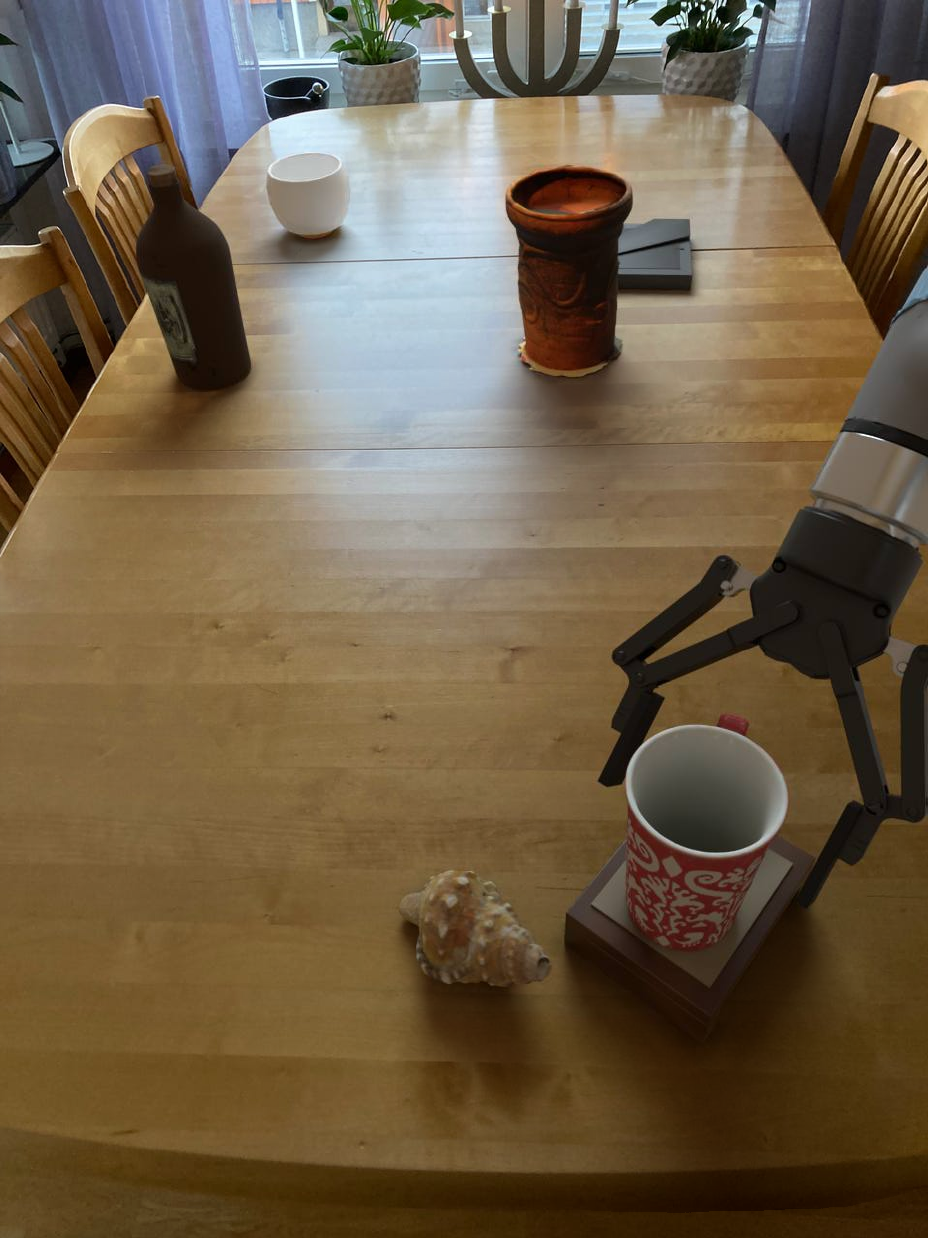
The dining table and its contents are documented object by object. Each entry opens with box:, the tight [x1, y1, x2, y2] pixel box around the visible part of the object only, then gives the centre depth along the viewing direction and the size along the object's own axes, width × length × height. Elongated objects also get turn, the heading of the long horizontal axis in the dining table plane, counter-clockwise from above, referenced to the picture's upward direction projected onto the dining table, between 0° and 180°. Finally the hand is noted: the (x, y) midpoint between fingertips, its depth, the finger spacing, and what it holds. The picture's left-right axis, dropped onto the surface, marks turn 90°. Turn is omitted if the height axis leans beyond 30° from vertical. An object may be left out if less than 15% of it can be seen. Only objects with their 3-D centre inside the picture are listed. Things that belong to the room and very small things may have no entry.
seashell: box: [398, 869, 553, 988], centre depth 66 cm, size 9×8×10 cm
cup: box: [265, 151, 352, 240], centre depth 147 cm, size 12×12×10 cm
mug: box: [624, 713, 790, 951], centre depth 60 cm, size 13×9×14 cm
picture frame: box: [618, 218, 693, 291], centre depth 137 cm, size 16×3×21 cm
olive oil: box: [135, 163, 252, 392], centre depth 114 cm, size 11×11×25 cm
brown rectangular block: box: [563, 834, 817, 1045], centre depth 67 cm, size 11×14×5 cm
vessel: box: [504, 164, 634, 378], centre depth 115 cm, size 14×14×20 cm
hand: (701, 840), depth 60 cm, fingers open, 13 cm apart
